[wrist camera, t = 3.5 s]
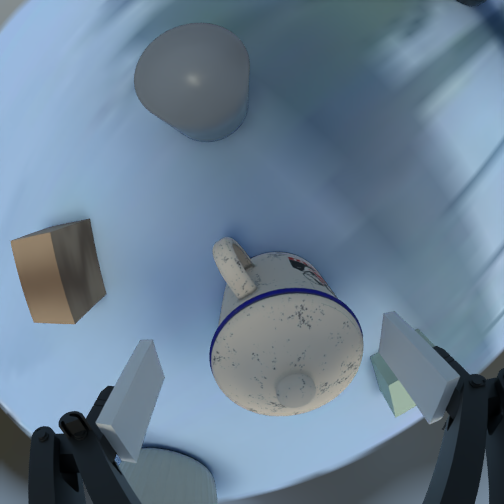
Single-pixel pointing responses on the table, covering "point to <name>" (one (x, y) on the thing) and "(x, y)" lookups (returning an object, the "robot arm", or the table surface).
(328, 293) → the teacup with lid
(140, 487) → the canister
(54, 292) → the walnut block
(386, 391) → the sage green block
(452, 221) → the table surface
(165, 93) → the grey rounded piece
